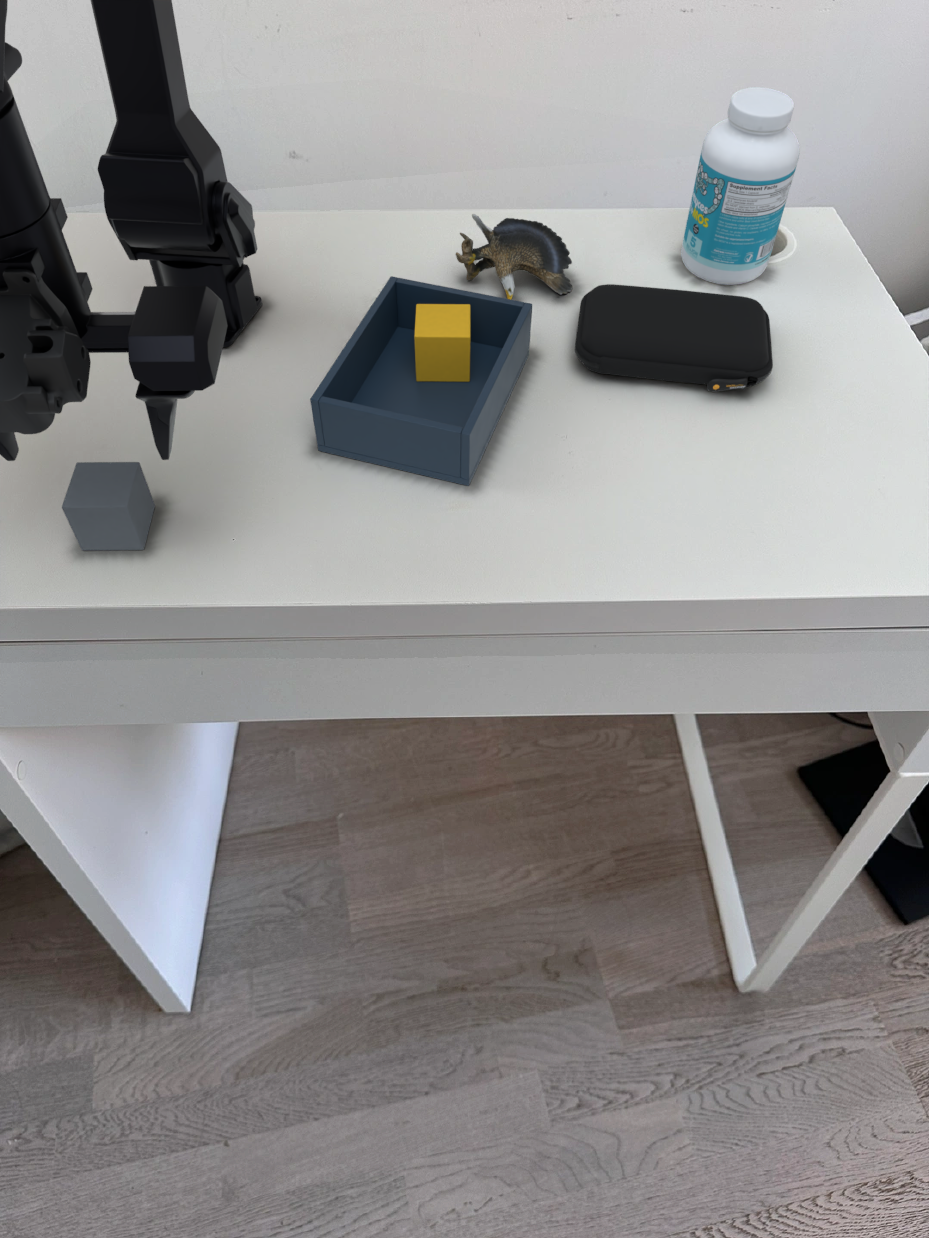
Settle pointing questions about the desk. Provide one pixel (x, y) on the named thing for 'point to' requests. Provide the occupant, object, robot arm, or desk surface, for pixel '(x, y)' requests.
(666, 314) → the carrying case
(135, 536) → the slate grey cube
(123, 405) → the desk surface
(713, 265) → the pill bottle
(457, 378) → the mustard yellow block
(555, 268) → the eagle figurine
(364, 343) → the dark blue open box
